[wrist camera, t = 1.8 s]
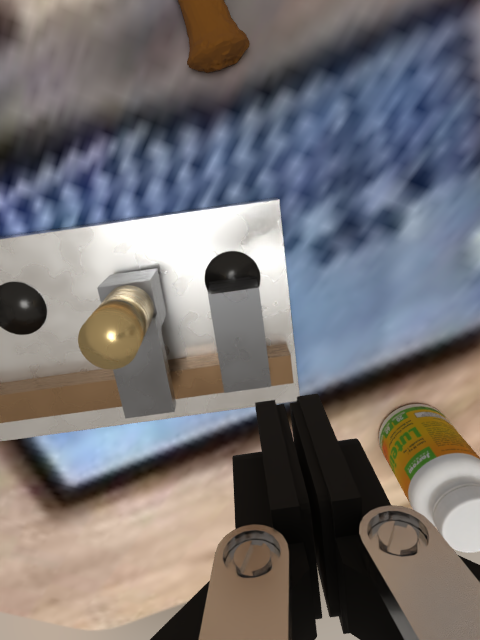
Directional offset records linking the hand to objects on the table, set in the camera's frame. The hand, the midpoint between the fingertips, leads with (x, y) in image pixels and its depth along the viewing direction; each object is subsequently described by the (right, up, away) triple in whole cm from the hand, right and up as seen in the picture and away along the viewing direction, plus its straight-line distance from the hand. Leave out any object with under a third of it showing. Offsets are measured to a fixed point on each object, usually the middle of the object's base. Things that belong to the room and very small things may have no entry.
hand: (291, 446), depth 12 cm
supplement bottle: (+12, -5, +24) cm, 27 cm away
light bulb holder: (-7, +3, +18) cm, 20 cm away
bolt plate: (-10, +3, +20) cm, 23 cm away
